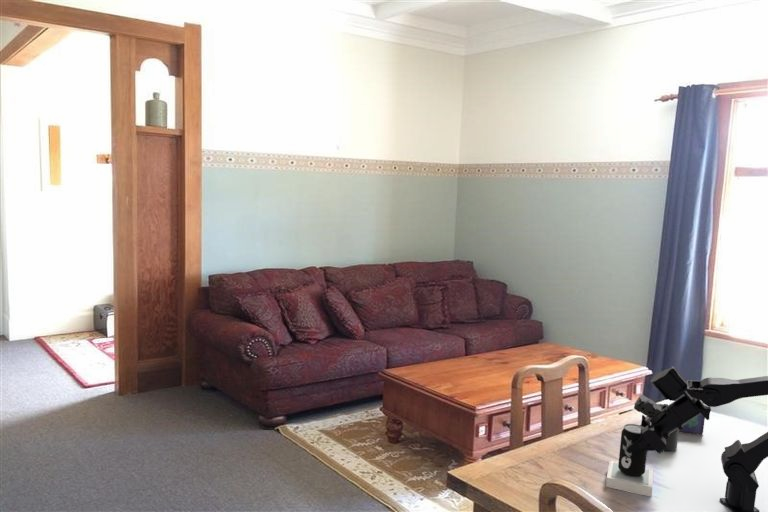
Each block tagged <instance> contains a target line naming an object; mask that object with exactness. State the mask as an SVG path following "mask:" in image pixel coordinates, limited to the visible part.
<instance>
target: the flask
mask: <svg viewBox="0 0 768 512" xmlns="http://www.w3.org/2000/svg"><path fill="white" fill-rule="evenodd" d="M705 420H706V418H705V417H704V416H703V415H702V414H700V415H698V416H697V417H695V418H694V419H692V420H690V421H689V422H687V423H686V424H684V425H683V429H681V430H679V433H681V434H687V435H689V434H691V435H695V436H697V435H698V436H703V433H704V427H705Z"/></svg>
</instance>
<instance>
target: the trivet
mask: <svg viewBox="0 0 768 512" xmlns="http://www.w3.org/2000/svg"><path fill="white" fill-rule="evenodd" d="M618 464H619V461H618V462H617V461H612V460H609V463H608V468H607V475H606V480H605V487H606V488H610V489H614V490H615V489H616V490H618V491H619V490H620V491H624V492H629V493H632V494H637V495H641V496H646V497H649V498H651V497H652V496H653V488H654V487H653V486H654V485H653V484H654V469H652V468H646V467H645V473H644V474H642V475H641V476H638V477H634V476H629V475H626V474H624V473H622V472H621V471H620V469H619V467H618Z"/></svg>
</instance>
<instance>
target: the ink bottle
mask: <svg viewBox="0 0 768 512" xmlns="http://www.w3.org/2000/svg"><path fill="white" fill-rule="evenodd" d="M657 404H658V405H660V406H662V405H664V404H665V403H663V404H661V403H657ZM662 436H663V435H662ZM663 437H664V436H663ZM664 438H665V437H664ZM665 439H666V438H665ZM678 443H679V429H677V430H675V431H673V432H672V433H670V434H669V438H667V439H666V450H665V451H664V452H667V453H669V452H674V451H676V450H677V448H678Z"/></svg>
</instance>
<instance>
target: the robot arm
mask: <svg viewBox="0 0 768 512" xmlns="http://www.w3.org/2000/svg"><path fill="white" fill-rule="evenodd" d="M650 383H651V384H652V386H654V388H655V389H656V390H657V391H658V392H659V394H660V395H661V396H662V397H663V398H664V399H665V400H669V401H671V403H669V404H668V403H663V404H664V405H662V406H660V405H658V404H659V403H657V402H655V400H652V399H650V398H649V397H648V396H645V395H644V394H640V395H639V396H638V398H637V399H636V401H635V402H634V406H633V408H634V410H635V411H636V412H638V413H641V414H642V415H641V423H640V426H643V427H645V428H644V429H642V428H641V433H640V437H638V438H637V439H636V440H635V441H634V442H633V443H632V444H631V445H630V446H629V447H628V448H627V449H626V450H627V451H628V453H633V452H642V451H647V452H654V451H655V452H656V453H657V454H659V455H660V454H662V453H663V452H665V450H666V439H667V438H669V434H670V433H672V432H673V431H675V430H677V429H679V430H681V429H683V425H684V424H686V423H687V422H689V421H690V420H692V419H694V418H695V417H697V416H698V415H700V414H702V415H703V416H704V417H705V420H707V421H709V420H710V415H711V414H710V413H711V411H712V408H718V407H721V406H724V405H728V404H730V403H732V402H735V401H736V400H740V399H744V398H751V397H761V396H762V397H763V396H768V375H766V376H757V377H748V378H742V379H731V378H724V377H705V378H702V379H701V380H687V379H686V380H685V379H684V378H683V377H682V375H680V374H679V372H678V370H677V369H676V368H675V366H671V367H670V368H666V369H664V370H661V371H659V372H658V373H656V374H655V375H654V376H653V377H652V378H651V379H650ZM662 435H663V436H664V437H665V438H666V439H665V438H664V437H663V436H662ZM767 458H768V431H767V432H765V433H764V434H762V435H761V436H758V437H757V438H755V439H754V440H752V441H750V442H748V443H747V442H746V443H742V442H741V441H740V440H739V439H737V440H735V441H734V442H733V443H732V444H731V445H728V446H725V447H724V451H723V452H722V453H721V457H720V460H721V465H722V470H723V473H724V474H725V476H726V477H727V481H726V486H725V492H724V493H725V494H724V497H719V502H721V503H723V504H724V505H725V506H726V507H728V509H730V510H731V511H732V512H760V509H758V508H757V507H756V506H755V505H756V498H757V490H758V489H759V487H760V485H759V481H758V478H757V475H756V471H757V470H758V468H759V467H760V465H761V463H762V462H763V461H764V460H765V459H767Z"/></svg>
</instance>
